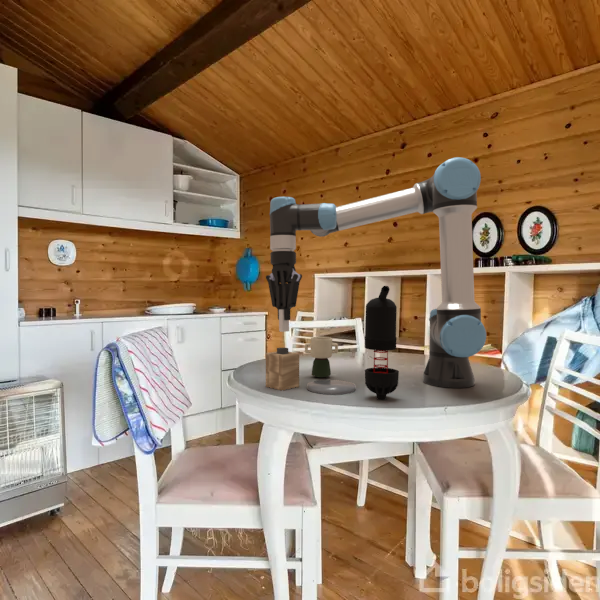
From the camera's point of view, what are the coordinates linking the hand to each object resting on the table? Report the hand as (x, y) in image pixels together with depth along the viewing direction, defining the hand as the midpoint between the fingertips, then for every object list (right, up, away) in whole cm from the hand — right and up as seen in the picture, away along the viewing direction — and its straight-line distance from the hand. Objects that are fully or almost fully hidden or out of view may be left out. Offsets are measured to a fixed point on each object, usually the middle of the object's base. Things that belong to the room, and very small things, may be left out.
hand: (284, 331), depth 131 cm
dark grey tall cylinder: (-1, -15, 0) cm, 15 cm away
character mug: (+12, -16, +15) cm, 25 cm away
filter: (+26, -17, -12) cm, 33 cm away
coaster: (+14, -17, -2) cm, 22 cm away
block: (-1, -16, 0) cm, 16 cm away
